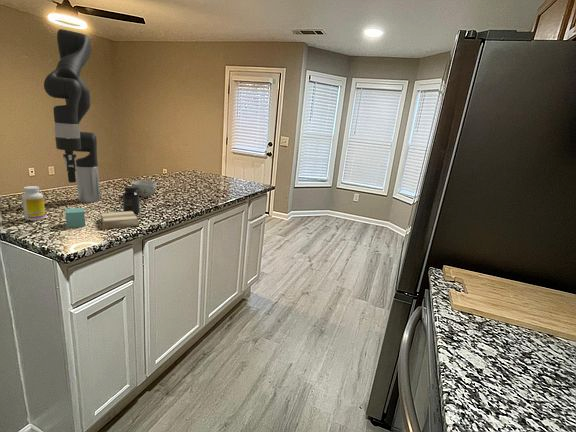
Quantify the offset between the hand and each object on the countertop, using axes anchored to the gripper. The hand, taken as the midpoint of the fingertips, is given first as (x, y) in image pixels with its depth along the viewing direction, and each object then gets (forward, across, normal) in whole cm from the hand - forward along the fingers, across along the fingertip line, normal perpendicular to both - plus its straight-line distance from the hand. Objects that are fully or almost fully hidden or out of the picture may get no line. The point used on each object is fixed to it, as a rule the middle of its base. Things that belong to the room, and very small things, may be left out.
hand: (71, 180), depth 117 cm
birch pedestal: (+18, +2, +15) cm, 23 cm away
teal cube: (+18, 0, 0) cm, 18 cm away
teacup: (+18, -41, +34) cm, 56 cm away
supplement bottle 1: (+18, -12, -13) cm, 25 cm away
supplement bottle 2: (+18, -12, +22) cm, 31 cm away
